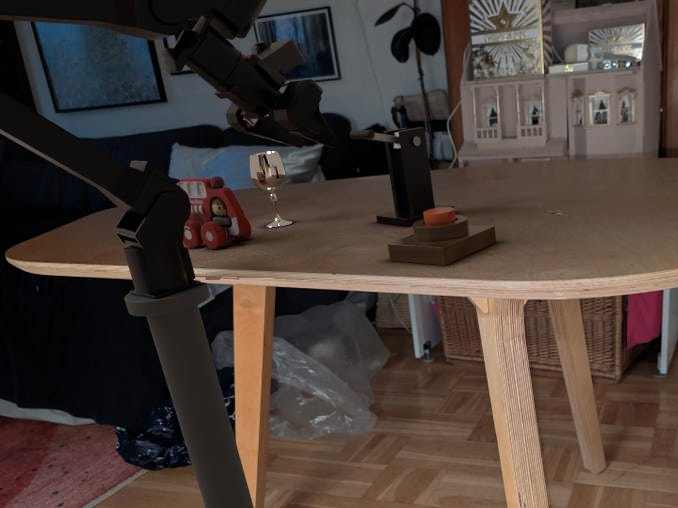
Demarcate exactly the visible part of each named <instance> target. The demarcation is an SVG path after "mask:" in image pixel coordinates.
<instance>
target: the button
mask: <svg viewBox="0 0 678 508" xmlns="http://www.w3.org/2000/svg"><path fill="white" fill-rule="evenodd" d="M454 208H455V207H454ZM454 208H451V207H441V208H434V209H429V210H426V211H424V212H423V215H424V222H425V225H442V224H447V223H452V222H455V221H456V216H455V215H456V209H454Z"/></svg>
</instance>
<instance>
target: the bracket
mask: <svg viewBox="0 0 678 508" xmlns="http://www.w3.org/2000/svg"><path fill="white" fill-rule="evenodd" d="M394 132H398V133H399V140H400V147H401V149H395V148H394V143H388V142H384V147H385V155H386V160H387V167H388V173H389V180H390V188H391V193H392V199H393V200H392V201H393V206H394V210H392V211H387V212H383V213H380V214H377V215H375V218H376V224H383V225H391V226H399V227H406V228H407V227H410V226H413V224H414V223H415V222H416V221H419V220H422V219H424V215H423V212H424V211H426V210H429V209H434V208H441V207H451V208H454V209H455V206H454V205H449V204H436V203H435V197H434V189H433V182H432V174H431V168H430V167H431V166H430V159H429V151H428V143H427V136H426V128H425V126H422V127H421V126H420V127H414V128H410V127H401V128H395V129H390V130H383V131H382V134H385V135H391V136H394ZM455 210H456V209H455Z"/></svg>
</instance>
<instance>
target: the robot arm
mask: <svg viewBox="0 0 678 508" xmlns="http://www.w3.org/2000/svg"><path fill="white" fill-rule="evenodd" d="M267 2H268V0H0V20H1V21H15V22H29V23H31V22H32V23H33V22H34V23H46V24H47V23H48V24H60V25H61V24H63V25H76V26H77V25H79V26H94V27H98V28H103V29H107V30H110V31H113V32H116V33H119V34H121V35H125V36H130V37H134V38H138V39H143V40H147V41H158V40H159V41H160V40H163V39H166V38H169V37H173V36H176V35H179V34H180V35H179V37H178V38H177V40H176V42H175V43H174V44H173V47H166V48H162V50H161V55H162V56H163V58H164V66H165V71H166V73H167V74H170V75H171V74H175V73H180V72H182V70H184V68H185V66H186V67H187V68H188V69H189V70H191V71H192V72H193V73H195V75H197V76H198V77H200V79H202V80H204V81H205V82H206V83H207V84H208V85H210V86H211V87H212V88H213V89H215V91H214V93H213V94H214V95H215V96H216V97H217V98H219V99H220V100H224V99H227V100H228V101H230V102H231V103H230V105H229V107H228V109H227V110H226V111H225V118H226V122H227V124H228V125H229V126H230V127H232V128H233V129H234V130H236V131H237V132H244V133H245V134H246V135H251V136H255V137H259V138H262V139H266V140H270V141H274V142H277V143H281V144H284V145H288V146H291V147H294V148H298V149H302V148H303V147H304V145H305V140H304V139H306V140H309V141H312V142H314V143H317V144H320V145H322V146H325V147H328V148H332V149H336V148H337V146H338V144H339V140H338V139H337V138H336V135H335V134H334V133H333V131H332V129H331V128H330V126H329V125H328V122H327V121H326V119H325V118H324V116H323V114H322V112H321V109H320V108H321V107H320V103H321V101H322V98H323V97H322V94H323V93H324V92H323V91H324V90H323V88H322V87H321V86H320V85H319V84H318V83H317V82H316V81H314V80H313V79H312V78H307V79H300V80H299V79H298V80H292V81H288V83H287V85H286V87H285V88H284V86H285V84H286V82H287V80H288V79H287V78H285V75H286V74H288V73H289V72H291V71H292V70H293V69H294V68H296V67H297V66H301V65H303V64H304V63H305V61H306V59H305V58H304V55H303V54H302V52H301V51H300V49H299V47H298V46H297V43H296V42H295V40H294V39H293V37H288V38H284V39H279V40H277V41H276V42H272V43H270V44H269V43H267V42H266V41H265V40H262V41H257V42H255V43H254V44H253V45H252V46H250V52H251V54H245V53H243V52H242V50H240V49H239V48H237V47H236V46H235V45H234V44H233V43H232V42H230V41H234V40H235V39H236V38H237V39H242V40H243V39H246V37H247V36H248V34H249V33H250V31H251V29H252V27H253V26H254V24H255V22H256V21H257V19H258V18H259V16H260V14H261V12H262V11H263V9H264V7H265V6H266V4H267ZM197 18H198V20H197V22H196V23H195V25H194V27H193V28H192V29H190V28H186V27H187V26H188V24H189V21H191V20H193V19H197ZM281 88H284V90H283V92H282V91H281ZM0 134H1V135H2V136H3V137H6V138H7V139H9V140H11V141H13V142H15V143H16V144H18V145H20V146H22V147H24V148H25V149H27V150H28V151H30V152H32V153H34V154H36V155H37V156H40V157H41V158H43V159H45V160H46V161H48V162H50V163H52V164H54V165H55V166H57V167H59V168H61V169H63V170H64V171H66V172H68V173H70V174H72V175H73V176H75V177H77V178H79V179H80V180H82V181H84V182H86V183H88V184H89V185H91V186H93V187H94V188H96V189H97V190H99V191H100V192H101V193H102V194H103V195H104V196H105V197H106V198H107V199H108V200H110V201H111V202H112V203H113V204H114V205H115V206H116V207H117V208H118V209H120V210H121V211H122V212H123V213H122V215H121V216H120V218H119V220H118V221H117V223H116V224H115V226H114V228H113V233H114V234H115V235H116V237H117V238H118V239H119V240H120V242H121V243H122V244H123V245H129V246H127V247H124V248H122V251H123V254H124V258H125V261H126V264H127V267H128V270H129V274H130V277H131V280H132V283H133V286H134V289H132V290H129V293H130V295H133V296H139V297H145V298H151V299H160V298H163V297H166V296H169V295H172V294H175V293H178V292H181V291H184V290H187V289H190V288H193V287H196V286H199V285H201V282H202V281H201V280H199V279H198V280H197V279H196V273H195V270H194V266H193V262H192V258H191V254H190V251H189V249H188V248H187V247H186V246H185V243H184V242H183V238H184V226H185V223H186V222H187V220H188V219H189V216H190V214H191V203H190V199H189V195H188V194H187V192H186V191H185V190H184V189H182V188H181V187H180V186H178V185H177V183H179V182H180V178H175V177H171V176H169V175H167V174H166V173H164V172H163V171H162V170H160V169H159V168H158V167H157V166H156V165H155V164H153V163H152V162H150V161H147V160H131V161H130V165H126V164H124V163H122V162H119V161H118V160H117V159H115V158H113V157H111V156H110V155H108V154H106V153H105V152H103V151H102V150H100V149H98V148H96V147H94V146H93V145H91V144H90V143H88V142H86V141H85V140H84V139H82V138H80V137H78V136H77V135H75V134H73V133H72V132H70V131H68V130H67V129H65V128H64V127H61V126H60V125H58V124H57V123H55V122H54V121H51V120H50V119H48V118H46V117H45V116H43V115H42V114H40V113H39V112H36V111H35V110H33V109H32V108H31V107H28V106H27V105H25V104H24V103H22V102H20V101H18V100H17V99H16V98H14V97H12V96H11V95H8V94H7V93H5V92H4V91H2V90H0ZM303 138H304V139H303Z"/></svg>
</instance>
